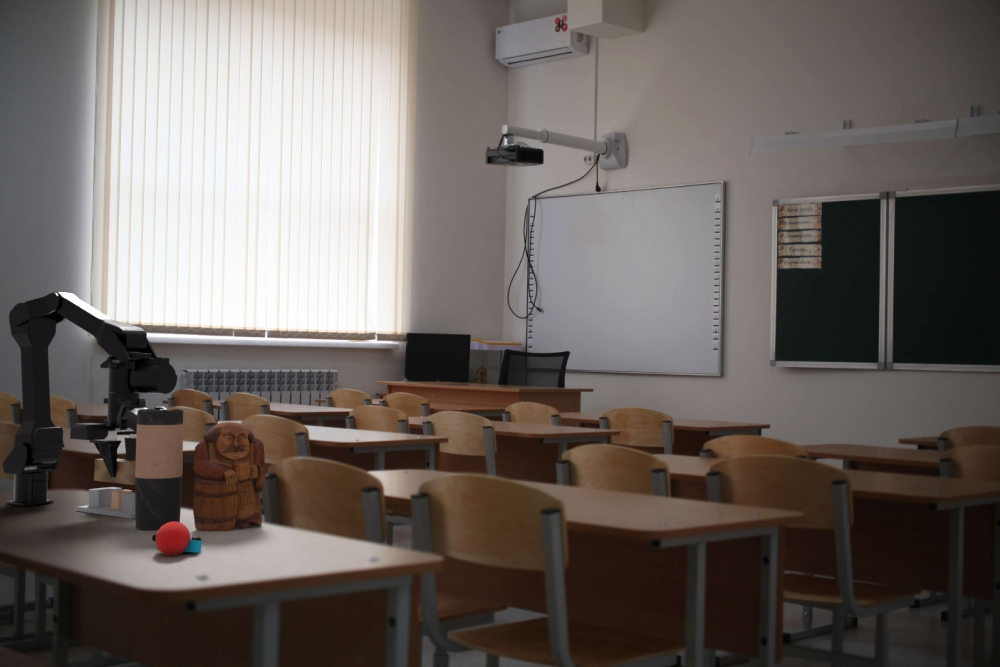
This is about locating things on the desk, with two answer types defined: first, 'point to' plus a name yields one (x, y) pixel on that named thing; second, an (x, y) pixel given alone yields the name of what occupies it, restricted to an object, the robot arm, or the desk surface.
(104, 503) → the pale grey flat fixture
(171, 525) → the toy figure
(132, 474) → the walnut bar
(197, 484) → the wooden figurine
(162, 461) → the travel mug
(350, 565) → the desk surface
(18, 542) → the desk surface
